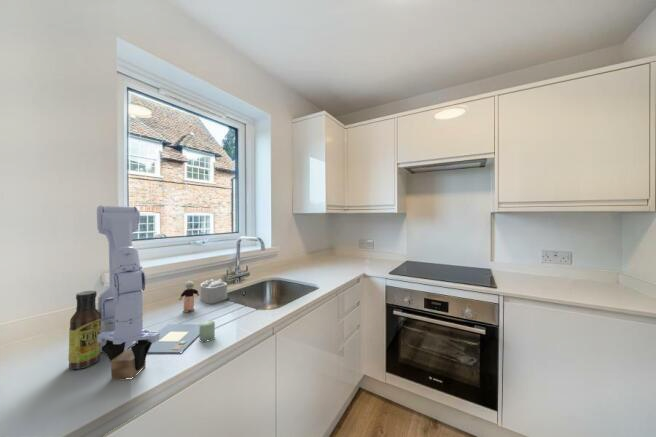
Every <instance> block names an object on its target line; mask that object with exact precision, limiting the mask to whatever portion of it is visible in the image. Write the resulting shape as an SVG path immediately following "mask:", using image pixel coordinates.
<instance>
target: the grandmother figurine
mask: <svg viewBox="0 0 656 437" xmlns="http://www.w3.org/2000/svg"><path fill="white" fill-rule="evenodd" d="M184 285H185V288H186V289H184V290H183V291H182V293H181V295H180V296H179V299H178V301H182V300H183V310H182V313H187V312H192V311H195V308H194V305H195V295H196V296H197V297H200V292H199V291H198V290H197V289H194V288H193V287H194V286H195V283H194V282H193V281H191V280H188V281H186V282H185V284H184ZM183 298H184V299H183Z"/></svg>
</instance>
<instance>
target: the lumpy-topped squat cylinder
mask: <svg viewBox="0 0 656 437" xmlns="http://www.w3.org/2000/svg"><path fill="white" fill-rule="evenodd" d="M199 288H200V289H199V297H200V298H199V301H201V302H202V303H205V304H216V303H219V302H221V301H222V302H223V301H226V300H227V299H228V283H227V282H225V281H224V280H223V279H221V278H219V279H218V280H215V279H213V278H211V279H210V280H205V281H203V282H202V283H201V282H200V286H199Z"/></svg>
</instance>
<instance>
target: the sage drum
mask: <svg viewBox="0 0 656 437" xmlns="http://www.w3.org/2000/svg"><path fill="white" fill-rule="evenodd" d="M199 324H200V329H199V336H198V337H199V339H200V340H201V341H207V340H211V339H212V340H214V339H215V337H214V336H216V334H215V333H216V332H215V330H216V329H215V328H216V326H215V325H216V323H215V321H213V320H205V321H202V322H200V323H199ZM213 338H214V339H213ZM199 339H198V340H199ZM200 340H199V341H200ZM212 340H211V341H212ZM201 341H200V342H201ZM207 342H208V341H207Z"/></svg>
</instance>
